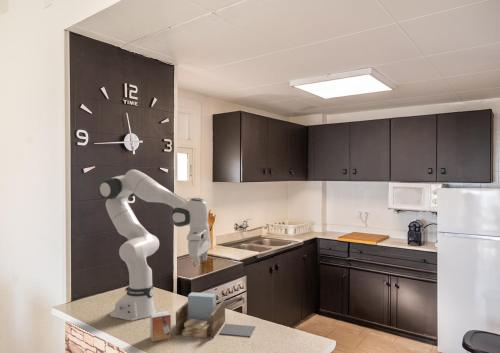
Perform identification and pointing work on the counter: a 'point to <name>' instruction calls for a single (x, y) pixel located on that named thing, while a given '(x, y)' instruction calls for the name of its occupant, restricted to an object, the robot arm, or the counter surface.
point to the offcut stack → (196, 328)
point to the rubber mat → (237, 330)
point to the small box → (160, 326)
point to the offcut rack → (215, 318)
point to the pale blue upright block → (201, 306)
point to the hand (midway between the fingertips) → (201, 263)
